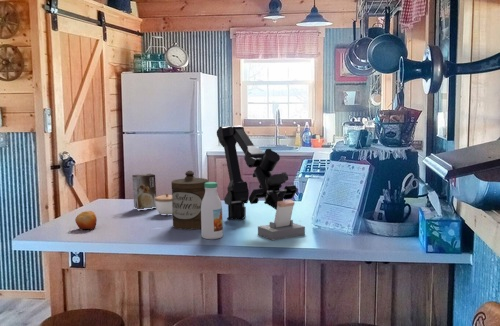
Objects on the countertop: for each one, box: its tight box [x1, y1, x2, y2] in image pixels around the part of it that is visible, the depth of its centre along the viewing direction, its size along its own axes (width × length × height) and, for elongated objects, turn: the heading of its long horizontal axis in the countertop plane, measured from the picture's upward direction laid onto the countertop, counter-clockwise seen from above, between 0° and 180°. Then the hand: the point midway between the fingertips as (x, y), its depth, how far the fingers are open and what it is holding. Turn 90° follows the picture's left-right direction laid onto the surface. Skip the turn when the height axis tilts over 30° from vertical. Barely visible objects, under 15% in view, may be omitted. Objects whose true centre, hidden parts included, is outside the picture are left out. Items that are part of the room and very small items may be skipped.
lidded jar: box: [155, 192, 172, 215], centre depth 236 cm, size 11×11×9 cm
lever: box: [273, 199, 295, 228], centre depth 195 cm, size 2×6×10 cm, turn 121°
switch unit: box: [257, 219, 306, 241], centre depth 197 cm, size 10×14×5 cm
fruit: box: [75, 210, 98, 230], centre depth 212 cm, size 8×8×8 cm
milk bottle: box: [200, 181, 224, 240], centre depth 195 cm, size 8×8×20 cm
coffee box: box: [131, 173, 157, 209], centre depth 248 cm, size 9×6×16 cm
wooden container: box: [171, 170, 209, 230], centre depth 213 cm, size 15×15×22 cm
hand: (282, 212), depth 196 cm, fingers closed, pressing on lever
